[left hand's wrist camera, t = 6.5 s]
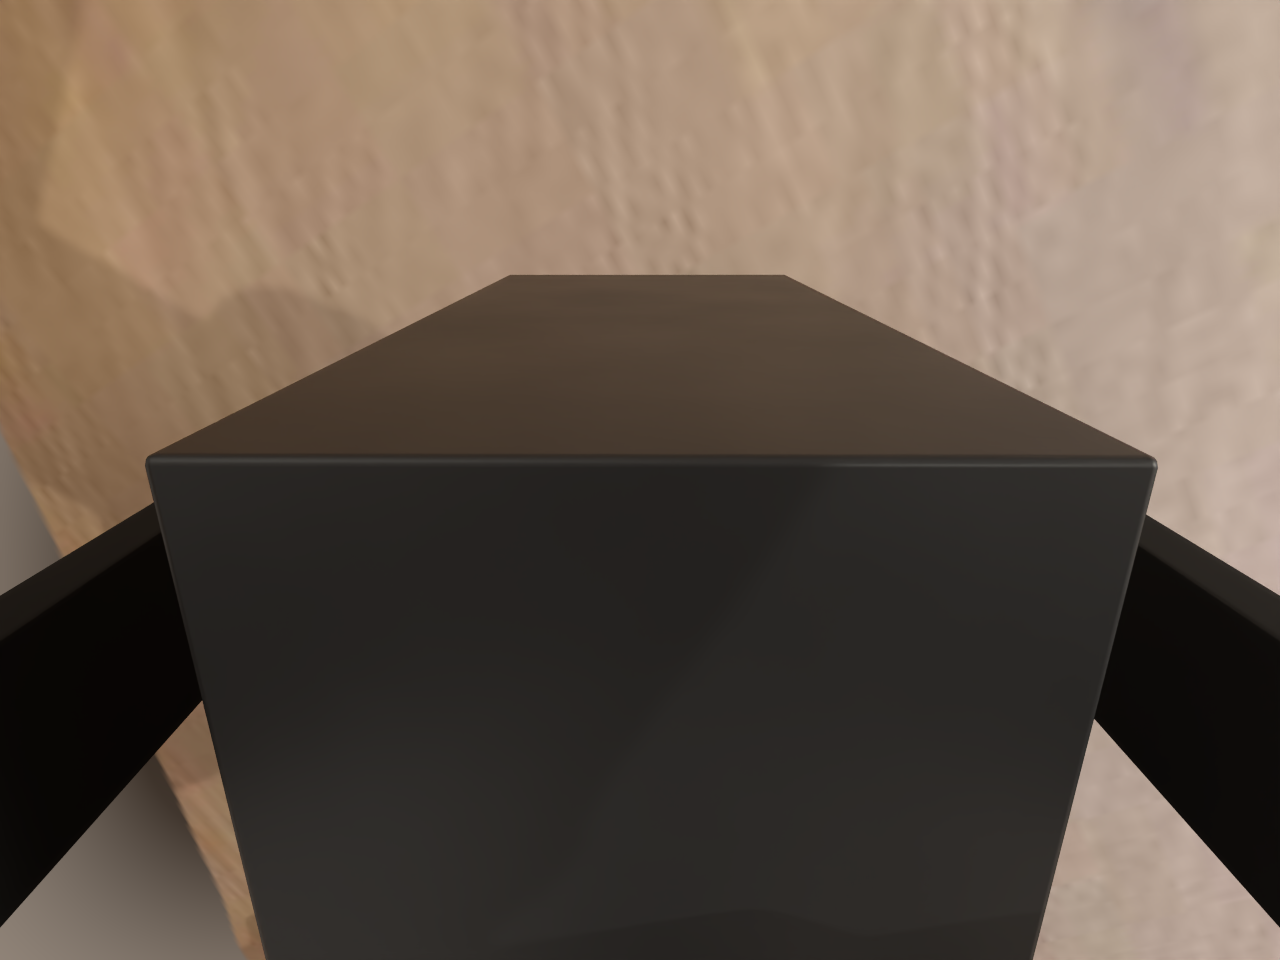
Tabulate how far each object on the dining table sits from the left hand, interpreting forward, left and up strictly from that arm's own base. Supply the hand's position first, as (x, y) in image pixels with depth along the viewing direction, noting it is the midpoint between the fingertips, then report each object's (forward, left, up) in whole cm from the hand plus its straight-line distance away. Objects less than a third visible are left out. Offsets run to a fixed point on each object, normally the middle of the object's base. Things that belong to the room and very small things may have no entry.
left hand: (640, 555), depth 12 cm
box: (+9, 0, -6) cm, 11 cm away
